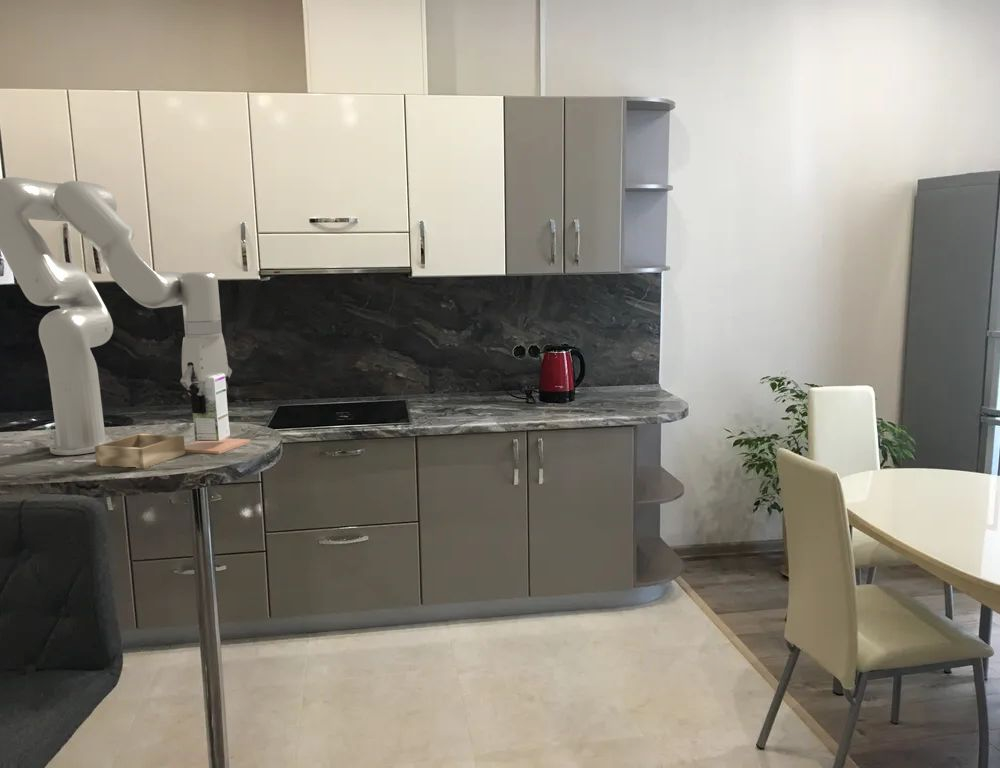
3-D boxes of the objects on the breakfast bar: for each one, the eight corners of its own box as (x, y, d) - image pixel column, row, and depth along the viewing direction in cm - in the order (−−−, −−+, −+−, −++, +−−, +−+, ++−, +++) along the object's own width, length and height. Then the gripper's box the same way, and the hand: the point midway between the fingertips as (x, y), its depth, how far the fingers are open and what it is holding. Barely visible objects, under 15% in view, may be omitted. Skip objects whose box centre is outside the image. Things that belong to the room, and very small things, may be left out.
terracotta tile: (176, 451, 167) (176, 448, 167) (209, 440, 178) (209, 437, 177) (219, 453, 164) (218, 451, 164) (250, 442, 174) (250, 439, 174)
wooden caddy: (96, 465, 157) (94, 446, 156) (140, 451, 168) (138, 433, 168) (144, 468, 153) (142, 449, 153) (185, 453, 165) (183, 435, 164)
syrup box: (231, 435, 173) (226, 372, 171) (219, 441, 167) (213, 376, 165) (206, 435, 174) (201, 372, 171) (194, 441, 168) (188, 376, 166)
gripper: (214, 325, 176) (221, 402, 179) (160, 332, 160) (168, 417, 162) (242, 325, 174) (248, 403, 176) (190, 333, 157) (198, 418, 160)
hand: (210, 409), depth 169 cm, fingers closed on syrup box, 6 cm apart
